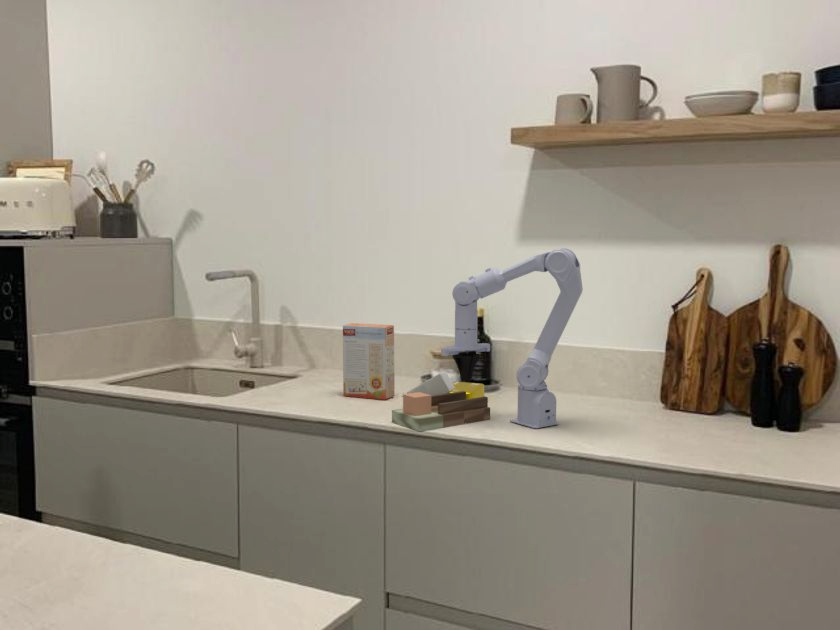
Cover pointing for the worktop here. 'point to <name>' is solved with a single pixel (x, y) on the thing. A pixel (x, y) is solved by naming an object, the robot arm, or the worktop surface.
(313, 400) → the worktop surface
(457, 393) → the trap channel
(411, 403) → the block
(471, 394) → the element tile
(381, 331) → the cracker box
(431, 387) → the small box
